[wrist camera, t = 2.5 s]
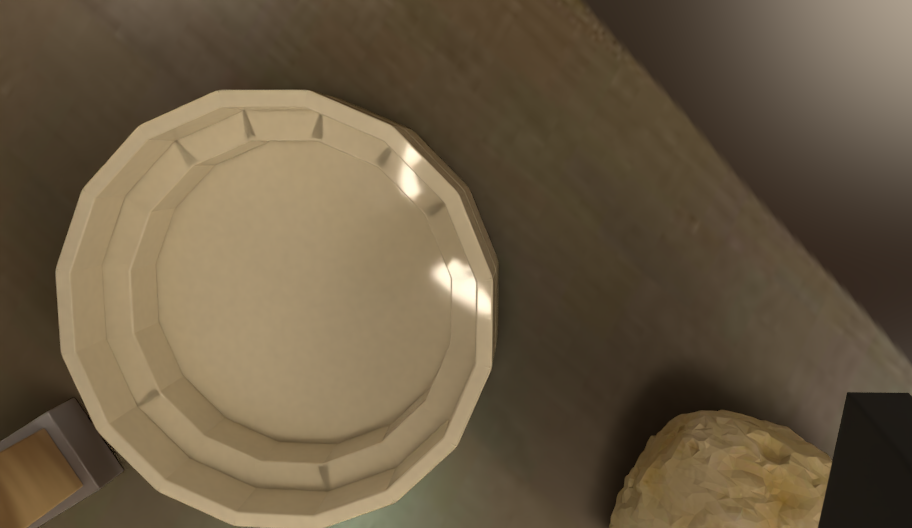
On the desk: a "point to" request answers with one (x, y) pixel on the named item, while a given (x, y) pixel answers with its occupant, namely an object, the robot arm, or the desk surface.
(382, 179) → the bowl
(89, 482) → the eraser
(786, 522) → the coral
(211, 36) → the desk surface
